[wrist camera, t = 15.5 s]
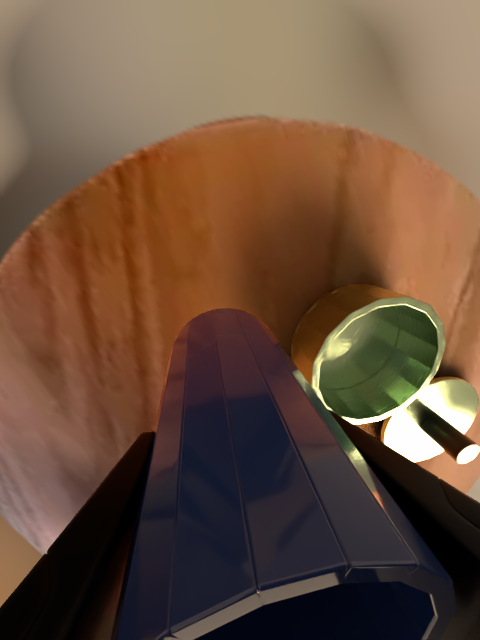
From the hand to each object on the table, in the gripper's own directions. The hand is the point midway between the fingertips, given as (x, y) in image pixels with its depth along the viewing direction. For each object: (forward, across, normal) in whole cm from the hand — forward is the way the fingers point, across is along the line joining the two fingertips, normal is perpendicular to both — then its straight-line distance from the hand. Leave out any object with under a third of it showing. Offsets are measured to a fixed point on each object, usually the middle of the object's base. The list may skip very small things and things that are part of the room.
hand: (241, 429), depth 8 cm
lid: (+12, -24, +14) cm, 30 cm away
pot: (+12, -12, +4) cm, 18 cm away
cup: (+5, 0, 0) cm, 5 cm away
